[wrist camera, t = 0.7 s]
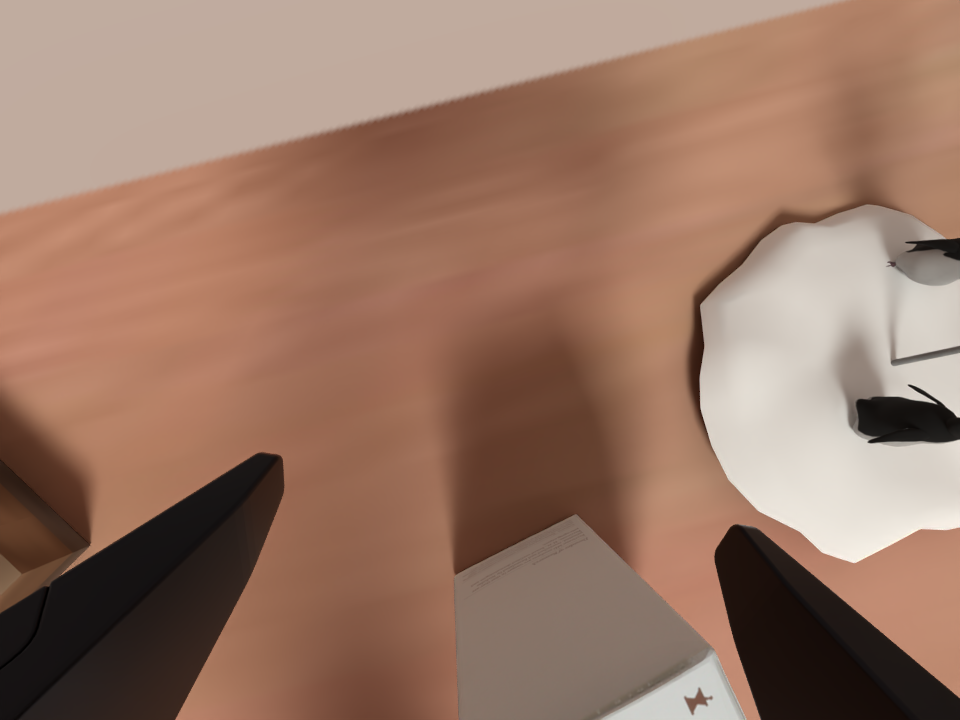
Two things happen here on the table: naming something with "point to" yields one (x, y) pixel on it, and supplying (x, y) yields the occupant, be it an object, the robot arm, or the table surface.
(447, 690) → the table surface
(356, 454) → the table surface
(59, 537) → the walnut pocket block
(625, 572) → the supplement box
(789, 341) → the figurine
